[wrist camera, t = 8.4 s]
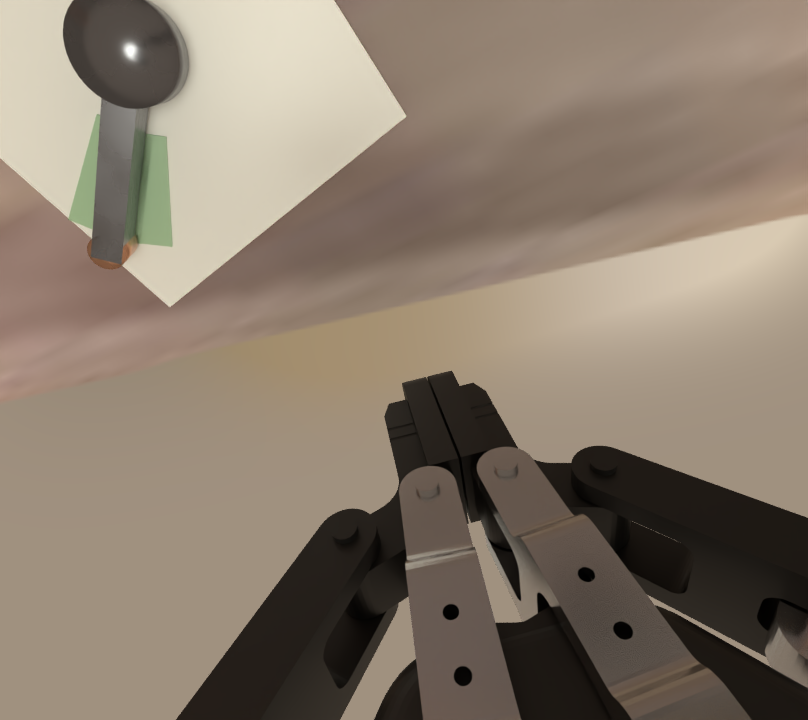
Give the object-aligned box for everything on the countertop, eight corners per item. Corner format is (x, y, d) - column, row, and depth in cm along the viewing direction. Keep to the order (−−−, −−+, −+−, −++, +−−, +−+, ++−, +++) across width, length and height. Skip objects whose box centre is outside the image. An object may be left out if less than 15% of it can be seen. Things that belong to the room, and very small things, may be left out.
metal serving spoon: (88, -25, 24) (65, -35, 22) (195, 18, 26) (184, 14, 24) (74, 243, 30) (54, 258, 28) (162, 265, 32) (151, 281, 30)
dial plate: (101, -366, 20) (85, -399, 19) (402, 114, 32) (407, 116, 30) (-190, -28, 24) (-221, -34, 22) (174, 298, 35) (169, 308, 34)
